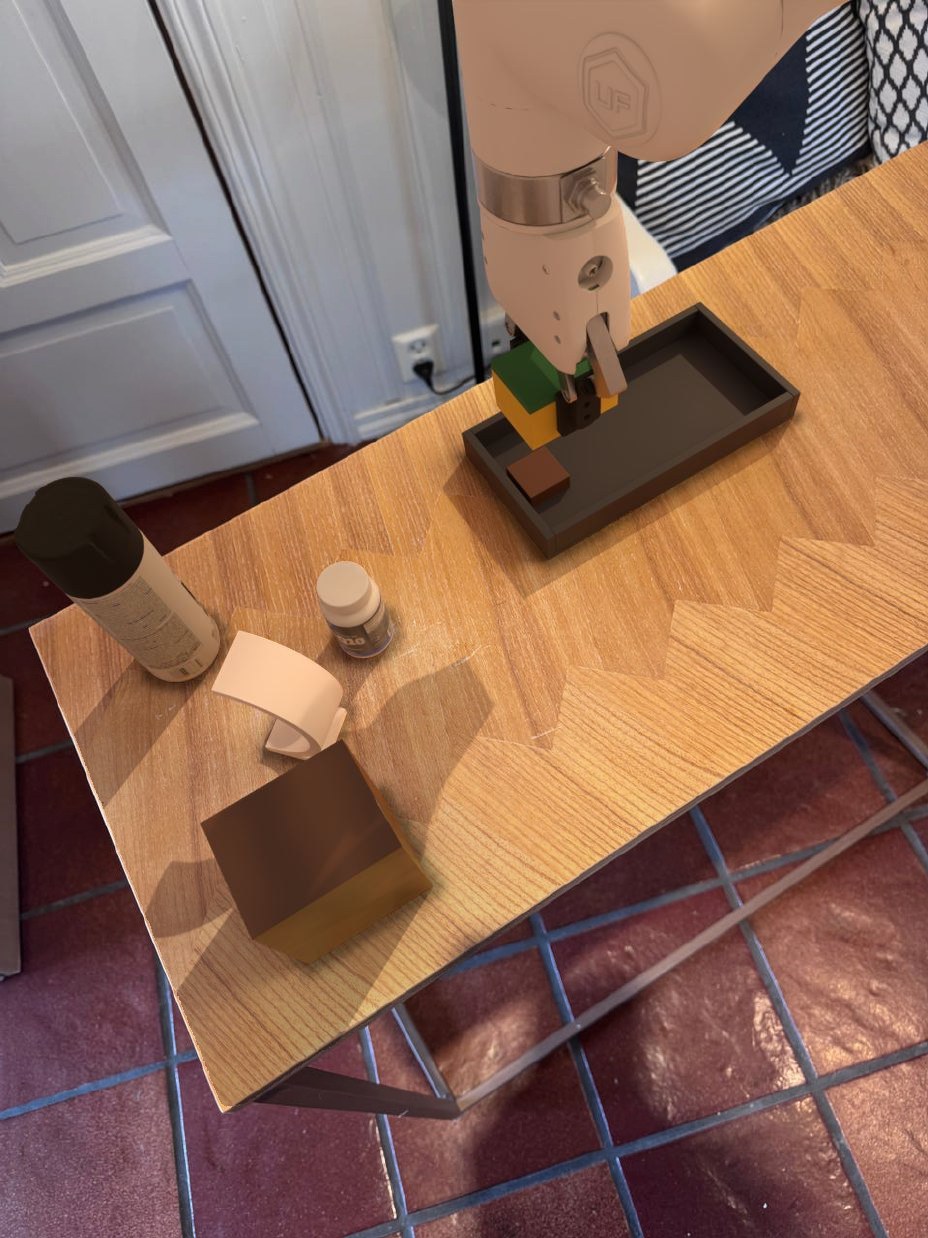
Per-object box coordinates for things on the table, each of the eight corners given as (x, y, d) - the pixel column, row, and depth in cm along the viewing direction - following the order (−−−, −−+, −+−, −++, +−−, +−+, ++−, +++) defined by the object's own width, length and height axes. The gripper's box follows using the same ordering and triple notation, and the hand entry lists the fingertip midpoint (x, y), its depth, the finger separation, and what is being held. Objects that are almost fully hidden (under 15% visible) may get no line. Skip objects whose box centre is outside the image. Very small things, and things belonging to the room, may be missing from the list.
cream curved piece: (290, 697, 71) (238, 629, 60) (359, 715, 69) (319, 649, 59) (267, 750, 69) (210, 690, 58) (338, 770, 67) (292, 711, 57)
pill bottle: (327, 645, 73) (297, 595, 65) (358, 599, 74) (333, 546, 67) (374, 669, 71) (350, 621, 64) (405, 622, 73) (385, 570, 65)
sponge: (578, 361, 64) (577, 314, 60) (617, 404, 62) (619, 358, 58) (496, 405, 64) (489, 360, 60) (532, 450, 61) (528, 407, 57)
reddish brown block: (545, 456, 78) (544, 445, 77) (570, 486, 76) (570, 475, 75) (506, 477, 77) (505, 467, 76) (531, 508, 76) (530, 498, 74)
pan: (696, 326, 84) (700, 300, 81) (793, 416, 77) (801, 392, 75) (465, 454, 80) (461, 432, 77) (548, 560, 74) (546, 540, 71)
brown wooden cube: (381, 793, 66) (342, 738, 56) (433, 886, 63) (402, 846, 52) (262, 865, 65) (199, 823, 54) (309, 965, 61) (251, 940, 51)
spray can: (235, 621, 75) (127, 479, 57) (204, 693, 72) (80, 568, 54) (166, 607, 76) (40, 464, 59) (132, 677, 74) (-10, 550, 56)
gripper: (704, 218, 43) (673, 453, 59) (521, 60, 51) (537, 305, 67) (573, 286, 42) (577, 506, 58) (407, 114, 50) (451, 350, 66)
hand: (556, 397), depth 62 cm, fingers closed on sponge, 5 cm apart
